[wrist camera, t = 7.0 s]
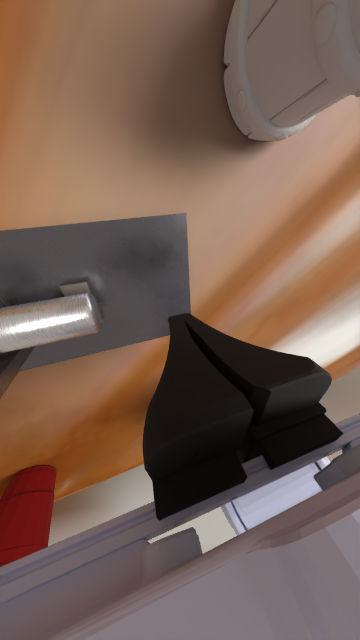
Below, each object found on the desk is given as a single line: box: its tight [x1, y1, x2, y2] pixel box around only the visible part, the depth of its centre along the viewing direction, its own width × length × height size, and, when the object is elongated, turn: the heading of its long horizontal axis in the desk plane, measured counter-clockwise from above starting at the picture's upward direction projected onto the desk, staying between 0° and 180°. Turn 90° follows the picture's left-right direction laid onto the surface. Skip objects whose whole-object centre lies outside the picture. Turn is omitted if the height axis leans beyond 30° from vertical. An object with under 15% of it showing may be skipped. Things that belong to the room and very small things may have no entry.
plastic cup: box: [0, 465, 56, 567], centre depth 23 cm, size 11×11×12 cm
